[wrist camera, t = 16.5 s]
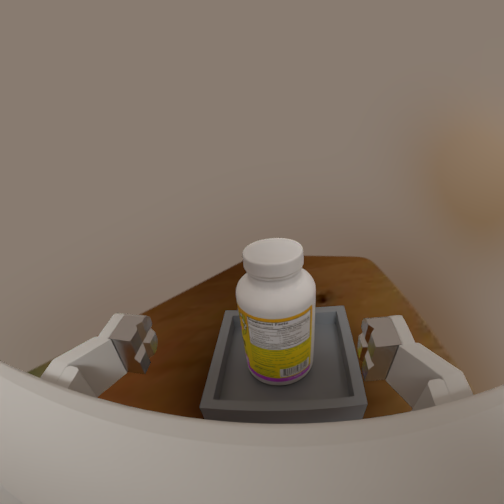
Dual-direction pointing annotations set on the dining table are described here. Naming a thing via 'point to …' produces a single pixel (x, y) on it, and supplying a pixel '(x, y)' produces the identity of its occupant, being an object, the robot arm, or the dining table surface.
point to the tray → (292, 395)
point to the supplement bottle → (277, 311)
